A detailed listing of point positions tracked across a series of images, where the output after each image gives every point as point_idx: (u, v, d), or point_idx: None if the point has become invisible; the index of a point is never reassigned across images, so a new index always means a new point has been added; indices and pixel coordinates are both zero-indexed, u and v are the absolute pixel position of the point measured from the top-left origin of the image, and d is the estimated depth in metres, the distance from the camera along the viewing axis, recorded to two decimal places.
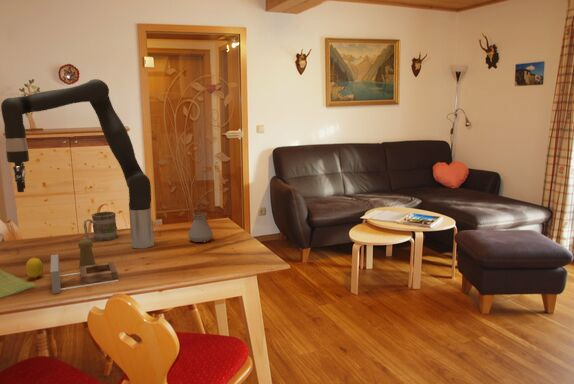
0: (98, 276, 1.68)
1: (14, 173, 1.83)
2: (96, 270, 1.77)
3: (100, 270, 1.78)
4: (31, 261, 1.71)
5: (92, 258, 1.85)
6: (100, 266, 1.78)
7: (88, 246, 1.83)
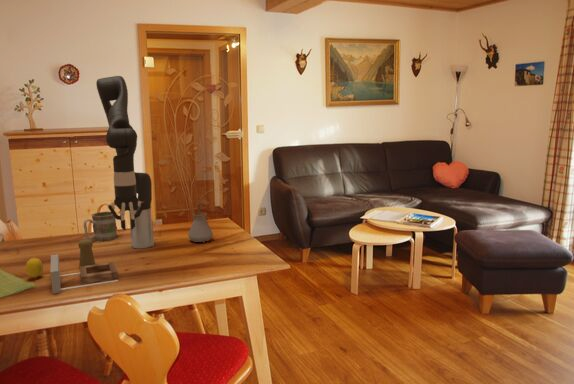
0: (98, 276, 1.68)
1: (133, 209, 1.74)
2: (96, 270, 1.77)
3: (100, 270, 1.78)
4: (31, 261, 1.71)
5: (92, 258, 1.85)
6: (100, 266, 1.78)
7: (88, 246, 1.83)
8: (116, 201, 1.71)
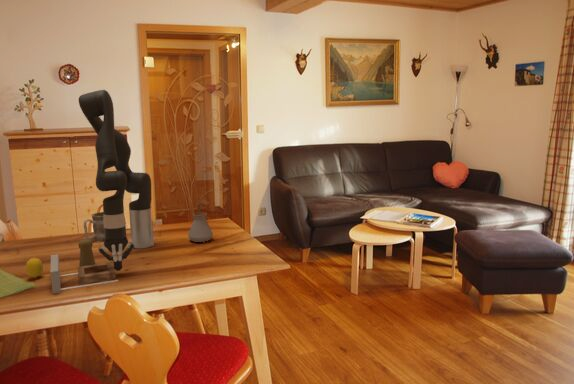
0: (96, 276, 1.68)
1: None
2: (94, 270, 1.77)
3: (98, 270, 1.77)
4: (31, 261, 1.71)
5: (92, 258, 1.85)
6: (98, 266, 1.77)
7: (88, 246, 1.83)
8: (106, 243, 1.72)
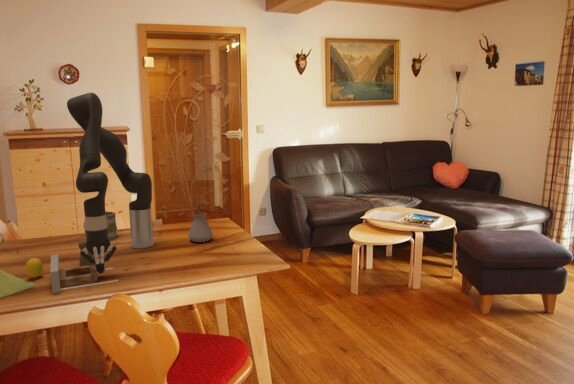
0: (77, 279, 1.65)
1: None
2: (76, 273, 1.74)
3: (80, 273, 1.75)
4: (31, 261, 1.71)
5: None
6: (80, 269, 1.75)
7: None
8: (87, 246, 1.69)
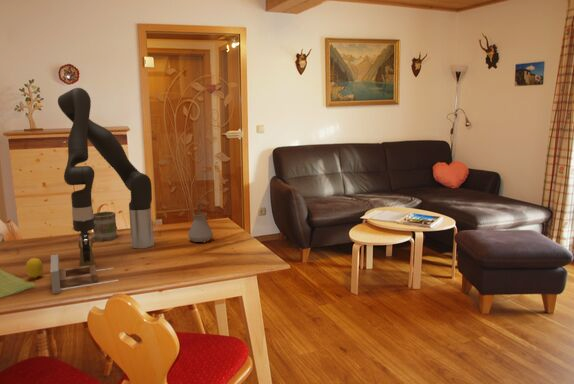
0: (77, 279, 1.65)
1: None
2: (76, 273, 1.74)
3: (80, 273, 1.75)
4: (31, 261, 1.71)
5: (92, 258, 1.85)
6: (80, 269, 1.75)
7: None
8: (87, 234, 1.81)
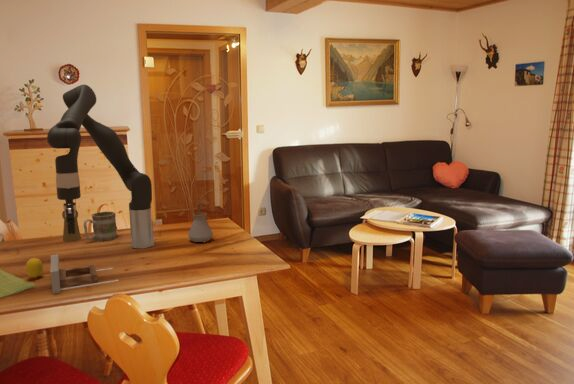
0: (77, 279, 1.65)
1: None
2: (76, 273, 1.74)
3: (80, 273, 1.75)
4: (31, 261, 1.71)
5: (77, 230, 1.69)
6: (80, 269, 1.75)
7: None
8: (72, 203, 1.65)
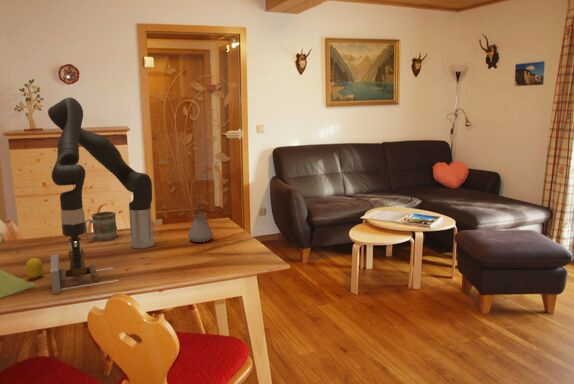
0: (77, 279, 1.65)
1: None
2: None
3: None
4: (31, 261, 1.71)
5: (84, 269, 1.70)
6: None
7: None
8: (78, 239, 1.66)
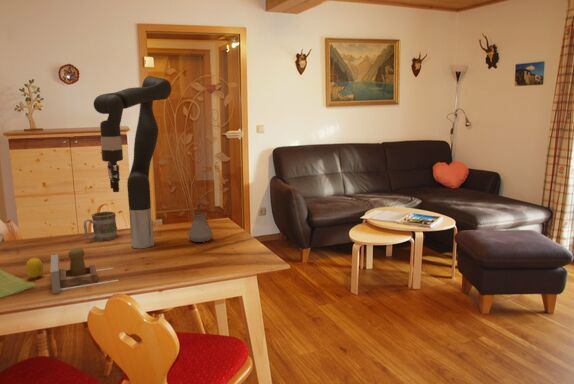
0: (77, 279, 1.65)
1: None
2: None
3: None
4: (31, 261, 1.71)
5: (84, 269, 1.70)
6: None
7: (79, 256, 1.68)
8: (116, 164, 1.79)
